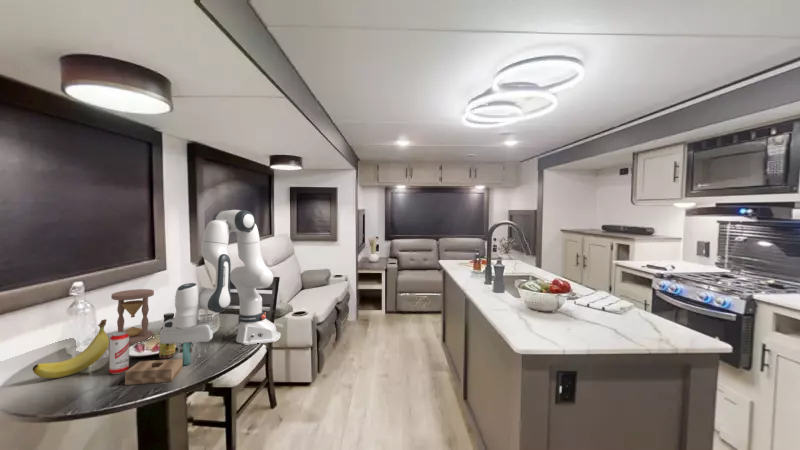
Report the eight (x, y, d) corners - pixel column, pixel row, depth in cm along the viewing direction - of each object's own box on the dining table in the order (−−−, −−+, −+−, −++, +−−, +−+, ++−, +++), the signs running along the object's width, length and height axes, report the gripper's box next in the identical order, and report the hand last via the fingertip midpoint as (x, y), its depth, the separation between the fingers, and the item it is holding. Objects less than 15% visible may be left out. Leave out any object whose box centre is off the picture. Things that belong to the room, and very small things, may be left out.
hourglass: (101, 343, 169) (102, 294, 169) (136, 332, 186) (136, 288, 186) (128, 347, 165) (129, 297, 165) (161, 335, 182) (162, 290, 182)
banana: (34, 386, 125) (35, 333, 125) (30, 382, 128) (31, 330, 128) (110, 365, 144) (111, 319, 144) (105, 362, 147) (106, 317, 147)
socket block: (182, 370, 141) (182, 358, 141) (171, 381, 131) (171, 369, 131) (139, 373, 138) (139, 361, 138) (124, 384, 128) (125, 371, 128)
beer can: (132, 369, 141) (133, 332, 141) (115, 376, 135) (116, 336, 135) (122, 367, 143) (123, 330, 143) (105, 373, 137) (106, 334, 137)
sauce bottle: (166, 360, 151) (167, 316, 151) (155, 358, 152) (156, 315, 152) (179, 354, 158) (179, 312, 157) (168, 353, 159) (168, 311, 159)
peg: (191, 361, 149) (192, 339, 149) (189, 364, 146) (189, 342, 146) (184, 362, 148) (184, 340, 148) (181, 365, 145) (181, 342, 145)
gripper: (215, 317, 152) (214, 347, 152) (164, 319, 148) (164, 350, 148) (210, 321, 146) (210, 353, 146) (157, 324, 142) (157, 356, 142)
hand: (186, 352), depth 147 cm, fingers closed on peg, 3 cm apart
